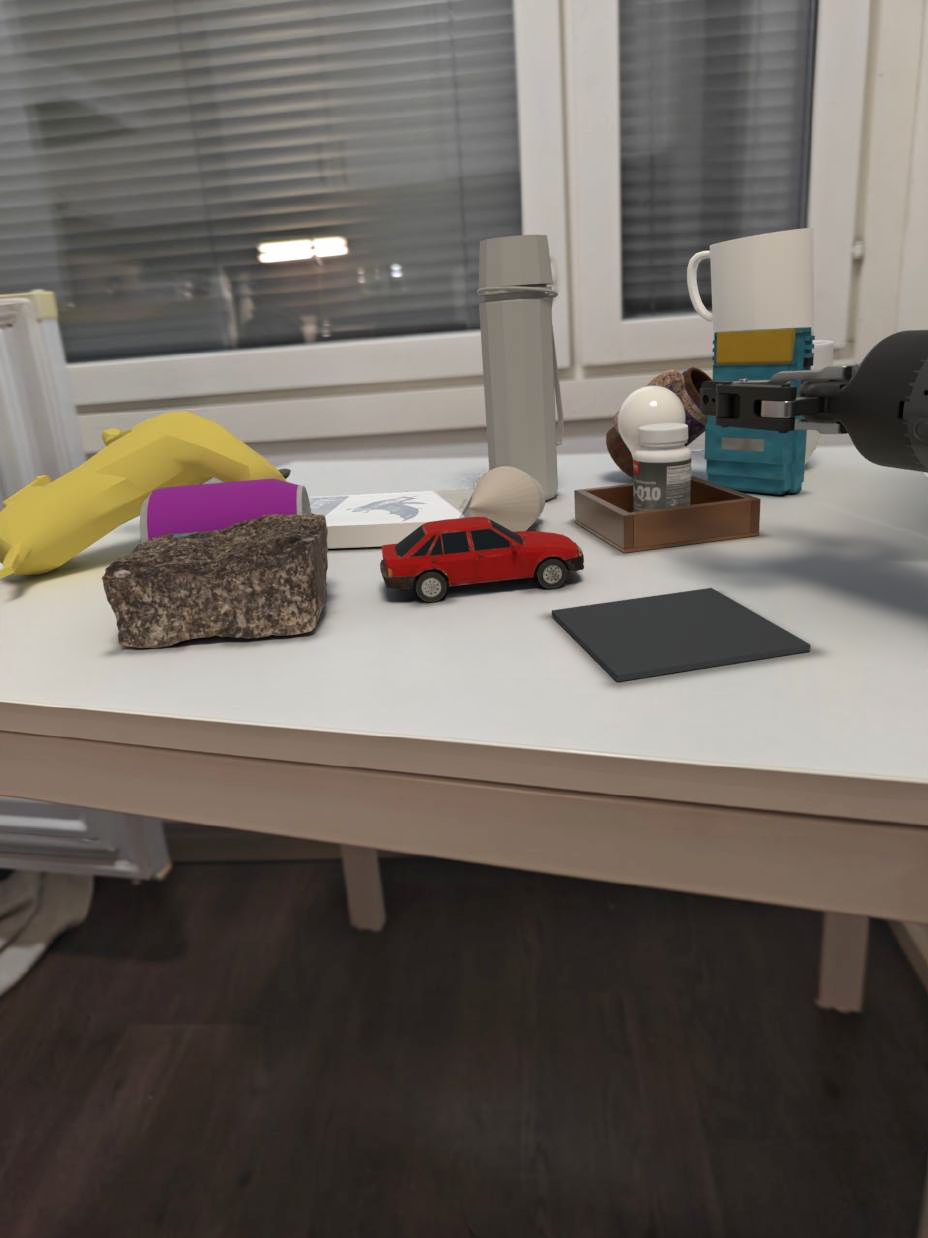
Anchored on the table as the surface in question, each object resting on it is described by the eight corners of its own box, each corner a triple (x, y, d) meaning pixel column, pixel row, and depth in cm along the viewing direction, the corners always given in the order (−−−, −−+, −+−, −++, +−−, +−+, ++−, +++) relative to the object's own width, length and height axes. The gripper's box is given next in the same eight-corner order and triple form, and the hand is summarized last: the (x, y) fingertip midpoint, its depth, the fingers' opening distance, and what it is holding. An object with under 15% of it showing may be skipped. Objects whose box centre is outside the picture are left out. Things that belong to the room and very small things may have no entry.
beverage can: (165, 605, 67) (316, 592, 67) (131, 550, 60) (299, 535, 61) (171, 528, 71) (315, 515, 71) (141, 467, 64) (299, 455, 65)
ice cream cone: (463, 450, 64) (523, 451, 78) (418, 512, 67) (484, 503, 80) (522, 502, 63) (572, 494, 77) (475, 563, 66) (532, 544, 79)
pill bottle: (622, 525, 73) (621, 427, 70) (665, 516, 75) (665, 420, 72) (657, 534, 69) (658, 431, 66) (702, 525, 71) (704, 424, 68)
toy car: (591, 586, 59) (589, 515, 57) (385, 609, 57) (377, 537, 55) (568, 562, 65) (566, 498, 63) (381, 582, 63) (374, 517, 61)
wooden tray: (692, 508, 79) (693, 476, 78) (759, 535, 68) (760, 498, 67) (574, 522, 77) (573, 489, 76) (624, 553, 66) (623, 515, 65)
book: (208, 553, 75) (204, 531, 74) (261, 517, 88) (258, 499, 87) (463, 543, 72) (461, 520, 71) (480, 507, 85) (479, 488, 84)
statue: (20, 660, 76) (119, 673, 62) (-81, 542, 70) (3, 527, 57) (229, 502, 91) (345, 484, 78) (160, 394, 86) (273, 353, 72)
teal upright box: (808, 489, 82) (819, 326, 77) (788, 497, 79) (797, 329, 74) (718, 481, 89) (723, 330, 84) (697, 488, 86) (700, 333, 81)
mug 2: (818, 333, 91) (818, 230, 88) (808, 339, 83) (807, 225, 80) (700, 347, 97) (696, 251, 94) (680, 354, 89) (674, 249, 85)
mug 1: (638, 439, 98) (720, 372, 90) (655, 489, 95) (742, 424, 87) (576, 414, 91) (659, 340, 83) (593, 467, 88) (680, 395, 80)
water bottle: (522, 509, 83) (508, 233, 75) (474, 500, 89) (457, 244, 81) (589, 493, 88) (583, 233, 80) (539, 485, 94) (529, 243, 86)
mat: (711, 593, 55) (711, 587, 55) (810, 651, 45) (811, 644, 45) (551, 616, 53) (551, 610, 53) (617, 682, 43) (617, 675, 43)
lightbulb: (613, 507, 81) (611, 390, 78) (623, 494, 87) (622, 384, 83) (681, 507, 79) (682, 387, 75) (687, 494, 85) (689, 380, 81)
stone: (321, 636, 53) (306, 545, 51) (110, 656, 53) (87, 565, 51) (339, 583, 63) (328, 505, 61) (163, 599, 63) (146, 522, 61)
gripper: (1070, 319, 45) (839, 327, 60) (869, 337, 41) (669, 342, 55) (1048, 459, 48) (831, 435, 62) (855, 492, 43) (668, 457, 57)
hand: (755, 391), depth 58 cm, fingers open, 8 cm apart
